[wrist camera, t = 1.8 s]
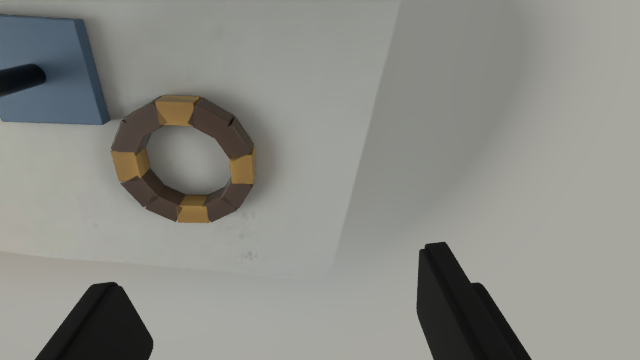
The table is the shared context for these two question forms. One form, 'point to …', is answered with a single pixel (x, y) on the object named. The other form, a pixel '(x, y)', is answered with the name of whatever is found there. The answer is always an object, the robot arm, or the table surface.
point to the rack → (48, 72)
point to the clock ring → (149, 187)
